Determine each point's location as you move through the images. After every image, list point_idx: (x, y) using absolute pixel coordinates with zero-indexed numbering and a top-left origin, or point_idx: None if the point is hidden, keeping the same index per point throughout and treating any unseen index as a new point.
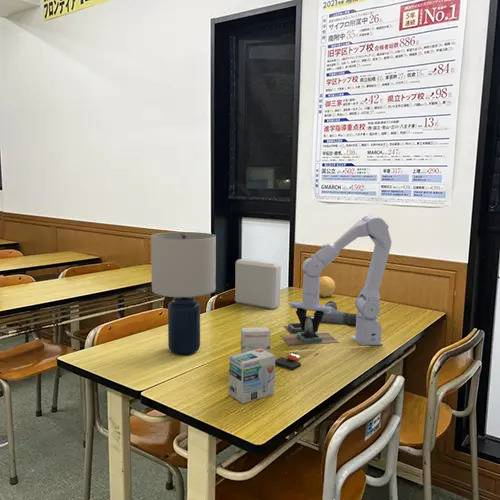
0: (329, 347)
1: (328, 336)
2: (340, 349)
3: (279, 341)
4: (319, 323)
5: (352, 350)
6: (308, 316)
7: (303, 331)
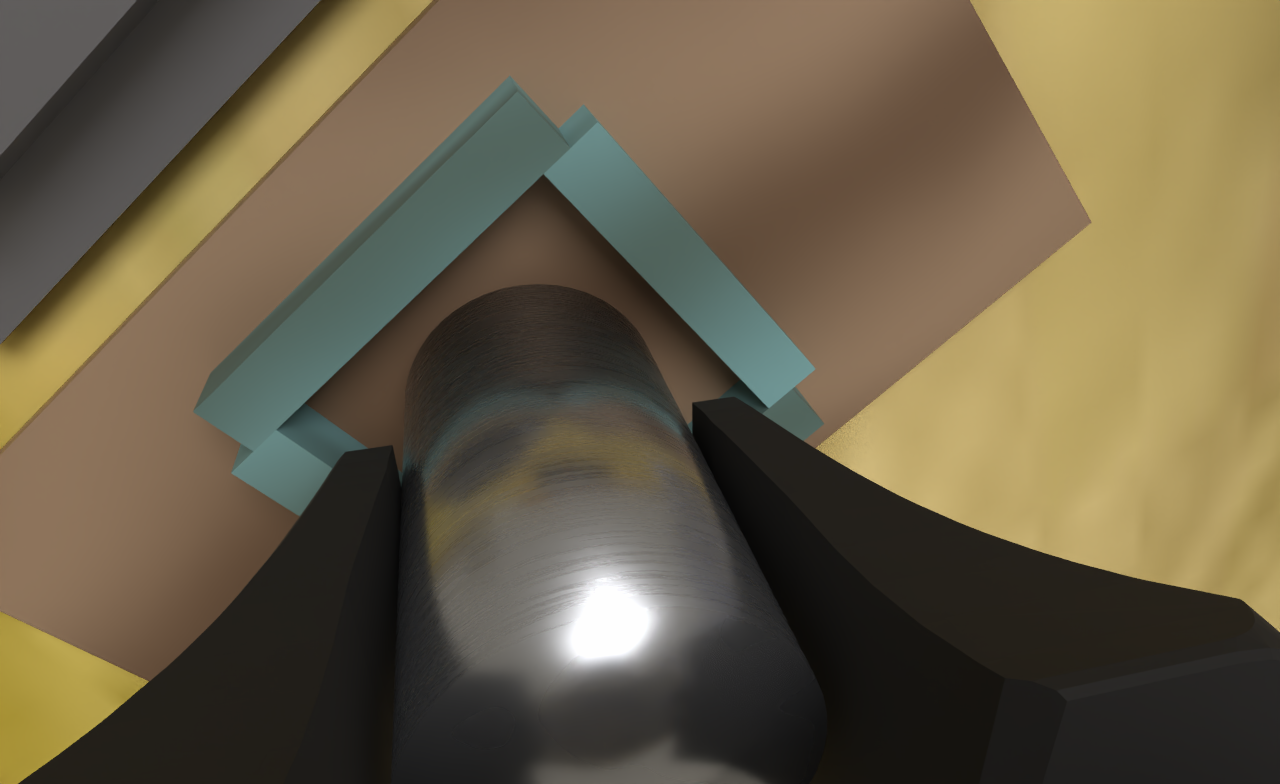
0: (933, 434)
1: (854, 7)
2: (1095, 411)
3: (80, 683)
4: (849, 484)
5: (1261, 346)
6: (521, 757)
7: (136, 22)
